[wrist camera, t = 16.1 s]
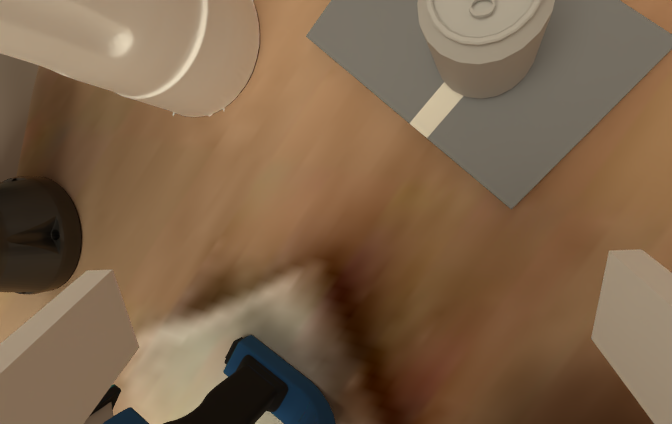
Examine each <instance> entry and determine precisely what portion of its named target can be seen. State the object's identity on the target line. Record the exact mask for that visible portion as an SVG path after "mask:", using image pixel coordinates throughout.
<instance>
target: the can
mask: <svg viewBox="0 0 672 424" xmlns="http://www.w3.org/2000/svg"><path fill="white" fill-rule="evenodd" d="M554 2H555V0H418V2H417V7H418V18H419V25H420V27H421V30H422V32H423V34H424V37H425V39H426V42H427V44H428V47H429V49H430V52H431V54H432V57H433V59H434V62H435V64H436V67H437V69H438V71H439V73H440V75H441V78H442V80H443V81H444V82H445V83H446V84H447V85H448V86H449V87H450V88H451V89H452V90H453V91H455V92H457V93H459V94H461V95H463V96H465V97H471V98H479V99H483V98H489V97H494V96H498V95H500V94H502V93H504V92H506V91H508V90H510V89H512V88H513V87H514V86H515V85H517V84H518V83H519V82H520V81H521V80H522V79H523V78H524V77H525V76H526V74H527V73H528V71H529V69H530V68H531V66H532V64H533V63H534V60H535V57H536V54H537V52H538V49H539V46H540V44H541V41H542V38H543V35H544V33H545V30H546V27H547V24H548V22H549V19H550V16H551V14H552V10H553V6H554Z"/></svg>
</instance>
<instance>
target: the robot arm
mask: <svg viewBox="0 0 672 424" xmlns="http://www.w3.org/2000/svg"><path fill="white" fill-rule="evenodd" d="M80 248H81V230H80V224H79V219H78V215H77V212H76V210H75V207H74V205H73V203H72V201H71V199H70V198H69V196H68V195H67V193H66V192H65V191H64V190H63V189H62V188H61V187H60V186H59V185H58V184H57V183H55V182H54V181H52V180H50V179H48V178H44V177H29V176H21V177H14V178H10V179H7V180H5V181H3V182H0V292H15V293H19V294H37V293H41V292H46V291H50V290H54V289H56V288H58V287H60V286H61V285H63V284H64V283H65V282H66V281H67V280H68V279H69V278H70V276H71V275H72V273H73V271H74V269H75V267H76V265H77V262H78V258H79V254H80ZM591 339H592V340H593V342H594V343H595V345H596V346H597V347H598V349H599V350H600V351H601V353H602V354H603V355H604V357H605V358H606V359H607V361H608V362H609V363H610V365H611V366H612V368H613V369H614V370H615V372H616V373H617V374H618V376H619V377H620V378H621V380H622V381H623V382H624V384H625V385H626V386H627V388H628V389H629V390H630V392H631V393H632V395H633V396H634V397H635V399H636V400H637V401H638V403H639V404H640V405H641V407H642V408H643V409H644V411H645V412H646V413H647V415H648V416H649V417H650V419H651V420H652V422H653V423H654V424H672V273H671V272H670V271H669V270H668V269H666V268H665V267H664V266H662V265H661V264H660V263H659V262H657V261H656V260H655V259H653V258H652V257H651V256H650V255H648V254H647V253H646V252H644V251H643V250H642V249H639V250H612V251H609V253H608V258H607V263H606V268H605V273H604V278H603V282H602V287H601V292H600V297H599V302H598V307H597V312H596V317H595V322H594V327H593V332H592V337H591ZM138 348H139V345H138V342H137V339H136V336H135V333H134V330H133V327H132V325H131V322H130V319H129V316H128V313H127V310H126V307H125V304H124V301H123V298H122V295H121V293H120V290H119V287H118V284H117V281H116V278H115V275H114V272H113V270H87V271H86V272H85V273H83V274H82V275H81V276H80V277H79V278H77V279H76V280H75V281H74V282H73V283H72V284H70V285H69V286H68V287H67V288H66V289H64V290H63V291H62V292H61V293H60V294H59V295H57V296H56V297H55V298H54V299H53V300H51V301H50V302H49V303H48V304H47V305H45V306H44V307H43V308H42V309H41V310H40V311H38V312H37V313H36V314H35V315H34V316H32V317H31V318H30V319H29V320H28V321H27V322H25V323H24V324H23V325H22V326H21V327H19V328H18V329H17V330H16V331H15V332H14V333H12V334H11V335H10V336H9V337H8V338H6V339H5V340H4V341H3V342H2V343H0V424H84V423H85V421H86V420H87V418H88V417H89V416H90V414H91V413H92V412H93V410H94V409H95V407H96V406H97V405H98V403H99V402H100V401H101V399H102V398H103V396H104V395H105V394H106V392H107V391H108V390H109V388H110V387H111V385H112V384H113V383H114V381H115V380H116V379H117V377H118V376H119V374H120V373H121V372H122V370H123V369H124V368H125V366H126V365H127V363H128V362H129V361H130V359H131V358H132V356H133V355H134V354H135V352H136V351H137V350H138Z"/></svg>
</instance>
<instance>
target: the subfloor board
mask: <svg viewBox="0 0 672 424" xmlns="http://www.w3.org/2000/svg"><path fill="white" fill-rule="evenodd" d="M417 2H418V0H331V2H330V3H329V4H328V6H327V7H326V9H325V10H324V11H323V13H322V14H321V16H320V17H319V18H318V20H317V21H316V23H315V24H314V26H313V27H312V28H311V30H310V31H309V33H308V34H307V35H306V37H307V38H309V39H310V40H311V41H312V42H313V43H315V44H316V45H317V46H318V47H319V48H320V49H322V50H323V51H324V52H325V53H326V54H328V55H329V56H330V57H331V58H332V59H334V60H335V61H336V62H337V63H338V64H339V65H341V66H342V67H343V68H344V69H345V70H347V71H348V72H349V73H350V74H351V75H352V76H354V77H355V78H356V79H357V80H358V81H360V82H361V83H362V84H363V85H364V86H366V87H367V88H368V89H369V90H370V91H371V92H373V93H374V94H375V95H376V96H377V97H379V98H380V99H381V100H382V101H383V102H385V103H386V104H387V105H388V106H389V107H390V108H392V109H393V110H394V111H395V112H396V113H398V114H399V115H400V116H401V117H402V118H404V119H405V120H406V121H407V122H408V123H409V124H411V125H412V126H413V127H414V128H415V129H417V130H418V131H419V132H420V133H421V134H422V135H424V136H425V137H426V138H427V139H428V140H430V141H431V142H432V143H433V144H434V145H436V146H437V147H438V148H439V149H440V150H441V151H443V152H444V153H445V154H446V155H447V156H449V157H450V158H451V159H452V160H453V161H455V162H456V163H457V164H458V165H459V166H460V167H462V168H463V169H464V170H465V171H466V172H468V173H469V174H470V175H471V176H472V177H474V178H475V179H476V180H477V181H478V182H479V183H481V184H482V185H483V186H484V187H485V188H487V189H488V190H489V191H490V192H491V193H493V194H494V195H495V196H496V197H497V198H498V199H500V200H501V201H502V202H503V203H504V204H506V205H507V206H508V207H509V208H510V209H512V208H513V207H514V206H515V205H516V204H517V203H518V202H519V201H520V200H521V199H522V198H523V197H524V196H525V195H526V194H527V193H528V192H529V191H530V190H531V189H532V188H533V187H534V186H535V185H536V184H537V183H538V182H539V181H540V180H541V179H542V178H543V177H544V176H545V175H546V174H547V173H548V172H549V171H550V170H551V169H552V168H553V167H554V166H555V165H556V164H557V163H558V162H559V161H560V160H561V159H562V158H563V157H564V156H565V155H566V154H567V153H568V152H569V151H570V150H571V149H572V148H573V147H574V146H575V145H576V144H577V143H578V142H579V141H580V140H581V139H582V138H583V137H584V136H585V135H586V134H587V133H588V132H589V131H590V130H591V129H592V128H593V127H594V126H595V125H596V124H597V123H598V122H599V121H600V120H601V119H602V118H603V117H604V116H605V115H606V114H607V113H608V112H609V111H610V110H611V109H612V108H613V107H614V106H615V105H616V104H617V103H618V102H619V101H620V100H621V99H622V98H623V97H624V96H625V95H626V94H627V93H628V92H629V91H630V90H631V89H632V88H633V87H634V86H635V85H636V84H637V83H638V82H639V81H640V80H641V79H642V78H643V77H644V76H645V75H646V74H647V73H648V72H649V71H650V70H651V69H652V68H653V67H654V66H655V65H656V64H657V63H658V62H659V61H660V60H661V59H662V58H663V57H664V56H665V55H666V54H667V53H668V52H669V51H670V50H671V49H672V34H670V33H669V32H667V31H666V30H664V29H663V28H661V27H660V26H658V25H657V24H655V23H654V22H652V21H650V20H649V19H647V18H646V17H644V16H643V15H641V14H640V13H638V12H637V11H635V10H634V9H632V8H630V7H629V6H627V5H626V4H624V3H623V2H621V1H620V0H555V2H554V6H553V10H552V14H551V16H550V19H549V22H548V24H547V27H546V30H545V33H544V35H543V38H542V41H541V44H540V46H539V49H538V52H537V54H536V57H535V60H534V63H533V64H532V66H531V68H530V69H529V71H528V73H527V74H526V76H525V77H524V78H523V79H522V80H521V81H520V82H519V83H518V84H517V85H515V86H514V87H513V88H512V89H510V90H508V91H506V92H504V93H502V94H500V95H498V96H494V97H489V98H483V99H479V98H471V97H465V96H463V95H461V94H459V93H457V92H455V91H453V90H452V89H451V88H450V87H449V86H448V85H447V84H446V83H445V82H444V81H443V80H442V78H441V75H440V73H439V71H438V69H437V67H436V64H435V62H434V59H433V57H432V54H431V52H430V49H429V47H428V44H427V42H426V39H425V37H424V34H423V32H422V30H421V27H420V25H419V18H418V7H417Z"/></svg>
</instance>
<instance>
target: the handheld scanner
mask: <svg viewBox="0 0 672 424" xmlns="http://www.w3.org/2000/svg"><path fill="white" fill-rule="evenodd" d="M225 358H226V360H225V364H227V365H226V367H225V369H224V373H225V374H226V375H227V376H228V378H226V379H225V380H224V381H222V382H221V383H220V384H219V385H217V386H216V387H215V388H214V389H212V390H211V391H210V392H209V393H208V394H207V396H206V397H205V398H204V400H203V402H202V403H201V404H200V405H199V406H198V407H197V408H196V409H195V410H194V411H192V412H191V413H189V414H188V415H186V416H184V417H182V418H180V419H177V420H174V421H170V422H166V423H164V424H255V422H256V421H257V420H258V419H259V418H260V417H261V416H262V415H263V414H264V413H265V412H266V411H269V412H271V413H272V414H273V415H275V416H276V417H277V418H278V419H279V420H281V421H282V422H283V423H284V424H336V423H335V419H334V415H333V412H332V410H331V408H330V405H329V403H328V402H327V400H326V399H325V397H324V396H323V394H322V393H321V392H320V390H319V389H318V388H317V387H316V386H315V385H314V384H313V383H312V382H311V381H310V380H309V379H308V378H306V377H305V376H304V375H302V374H301V373H300V372H299V371H297V370H296V369H295V368H293V367H292V366H291V365H290V364H288V363H287V362H286V361H284V360H283V359H282V358H281V357H279V356H278V355H277V354H275V353H274V352H273V351H272V350H270V349H269V348H268V347H266V346H265V345H264V344H263V343H261V342H260V341H259V340H258V339H256V338H255V337H254V336H252V335H249V336H247V337H245V338H244V339H243V338H242V337H241V338H239V339H237V340H235V341H234V342H233V344H232V346H231V348H230V350H229V352H228V354H227V356H226V357H225ZM120 392H121V389H120V388H118V387H117V386H116V385H114V384H113V385H111V387H110V388H109V390H108V391H107V392H106V394H105V395H104V396H103V398H102V399H101V401H100V402H99V403H98V405H97V406H96V407H95V409H94V410H93V412H92V413H91V414H90V416H89V417H88V418H87V420H86V421H85V423H84V424H149V423H148V422H147V421H146V420H145V419H144V418H142V417H141V416H140V415H139V414H138V413H137V412H136V411H135V410H134V409H133V408H131V407H130V408H127V409H125V410H123V411H122V412H120V413H118V414H117V415H115V416H113V411H112V409H113V407H114V405H115V403H116V401H117V399H118V396H119V394H120Z"/></svg>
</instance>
